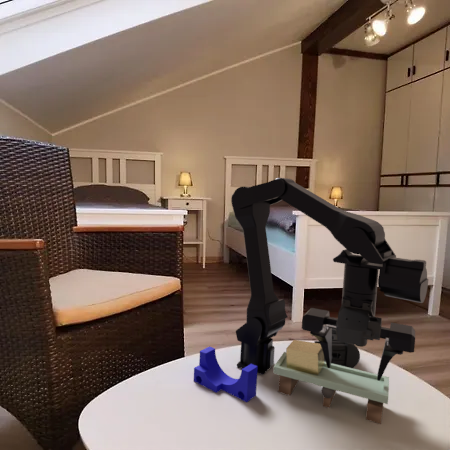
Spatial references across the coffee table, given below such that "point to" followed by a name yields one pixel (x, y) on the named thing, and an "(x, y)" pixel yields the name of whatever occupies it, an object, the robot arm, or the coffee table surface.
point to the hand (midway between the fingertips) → (353, 373)
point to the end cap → (343, 352)
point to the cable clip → (225, 377)
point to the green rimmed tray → (340, 380)
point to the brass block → (305, 357)
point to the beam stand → (373, 406)
